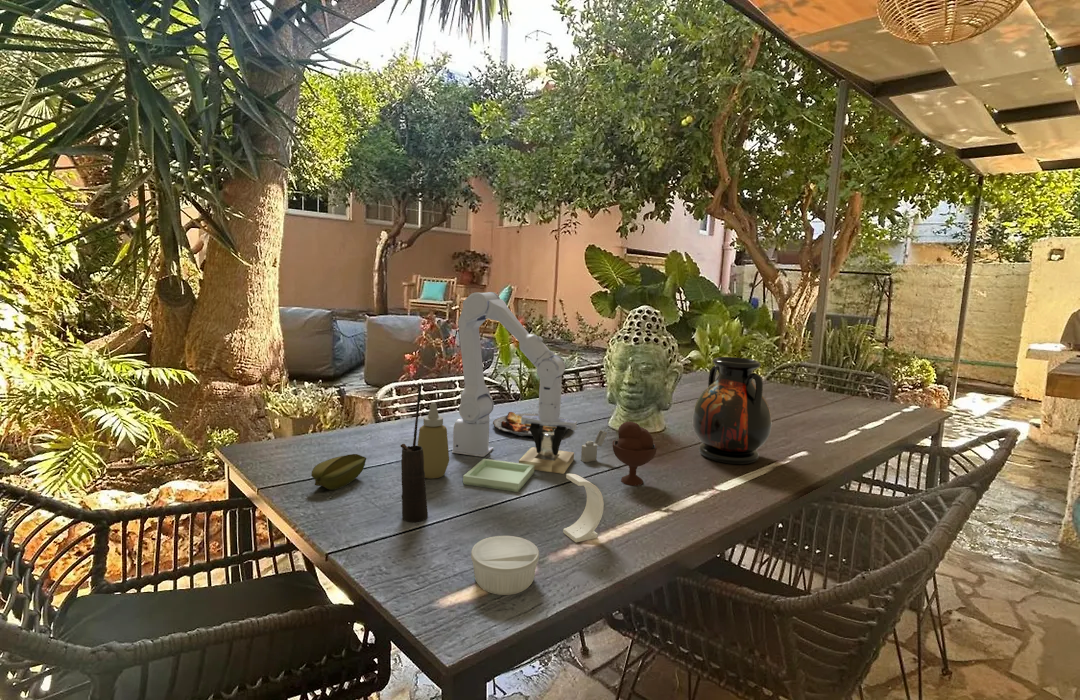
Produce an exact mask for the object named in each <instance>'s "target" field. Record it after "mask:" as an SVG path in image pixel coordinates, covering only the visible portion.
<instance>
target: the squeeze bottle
mask: <svg viewBox="0 0 1080 700" xmlns="http://www.w3.org/2000/svg"><path fill="white" fill-rule="evenodd" d="M417 446H421V447H422V448H423V455H424V472H425V479H431V480H432V479H439V478H441V477H444V476H445V475H446V472H447V468H448V465H449V463H450V452H449V441H448V429H447V427H446V426H445V425H444V417H443V416H440V415H439V411H438V406H437V403H436V402H431V403H430V407H429V411H428V415H427V416H424V417H423V425H422V426H420V427H419V430H418V438H417Z"/></svg>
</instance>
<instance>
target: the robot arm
mask: <svg viewBox="0 0 1080 700" xmlns="http://www.w3.org/2000/svg"><path fill="white" fill-rule="evenodd" d="M487 319H488V320H493V321H497V322H499V323H500V324H501V325H502V326H503V327H504V328H505V330H507V331H508V332H509V333H510V334H511V336H513V337H514V338H515V339H516V340H517V342H519V343H518V344H519V347H518V348H519V350H520V351H521V352H522V353H523V354H524V356H525V357H526V359H528V360H529V361H530V362H531V364H532V365H533V366H534V367H535V368H536V373H537V375H538V377H539V390H538V393H539V395H538V413H537V414H538V416H526V415H523V416H522V417H521V424H531V427H530V432H531V433H532V436H531V437H533V441H534V444H535V448H536V450H537V453H540V438H541V433H542V430H543V426H550V427H557V428H556V429H555V430H554V439H555V444H554V455H557V454H558V450H559V451H560V445H561V443H562V440H563V438H564V435H565V434H566V432H567V431H568V429H569V430H572V431H576V430H577V427H578V426H577V425H578V423H577V422H578V421H577V420H571V419H567V418H565V419H563V418H564V417H561V404H562V403H561V402H562V382H563V381H562V379H563V377H562V375H564V373H565V370H566V364H565V361H564V360H563V357H561V356H560V355H557V354H556V353H555V352H554V351H553V350H550V349H549V348H548V346H547V345H546V344H545V343H544V338H543V337H542V336H540V335H539V336H538V335H537V334H536V333H535V334H534V333H531V334H530V332H528V330H527V329H526V328H525V327H524V325H523V324H522V323H521V322H520V320H519V319H518V318H517V317H516V315H515V314H514V313H513V312H512V311H511V309H510V308H509V307H508V305H507V303H506V302H505V300H503V299H502V298H500V296H499V294H498V293H496V292H493V291H488V292H472V293H470V294H469V295H468V296H467V297H466V298H465V299H464V300H463V302H462V310H461V313H460V316H459V318H458V323H457V324H458V333H459V334H458V335H459V343H460V353H461V362H462V363H461V364H462V372H463V381H464V388H463V390H462V392H461V395H460V404H459V407H458V411H459V412H458V413H459V415H460V418H457V419H456V420H455V422H454V425H453V430H452V431H453V432H452V435H453V437H452V451H451V453H453V454H461V455H465V456H466V455H467V456H474V457H483V458H484V457H486V456H487V455H488V454H489V453H490V452H491V451H493V450H494V447H493V446H489V445H490V443H489V442H490V414H492V412H493V411H494V406H495V404H494V400H493V398H492V397H491V394H490V388H488V386H487V385H486V383H485V376H484V365H483V354H482V348H481V347H482V346H481V339H480V338H481V336H480V327H481V326H482V325H483V323H485V322H486V320H487ZM560 417H561V418H560ZM567 428H568V429H567Z"/></svg>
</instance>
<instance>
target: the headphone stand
mask: <svg viewBox="0 0 1080 700" xmlns="http://www.w3.org/2000/svg"><path fill="white" fill-rule="evenodd" d="M565 478H566V480H568V481H570V482H572V483H573V484H574V485H576V486H578V487H584V490H585V492H586V493H585V494H586V503H585V508H584V510H583V511H582V513H581V515H580V517H579V518H578V519H577V520H576V521H575V522H574V523H572V524H571V525H570V526H568V527H564V528H563V531H562V533H563V534H564V535H565V536H567V537H568V538H569V539H571V540H572V541H573V542H575V543H579V542H584V541H590V540H594V539H598V536H599V533H598V532H596V531H595V530H596V529H597V527H598V526H599V524H600V522H601V519H602V517H603V513H604V507H605V504H604V496H603V494H602V492H601V491H600V489H599V487H598V486H597V485H595V484H593V483H592V482H591V481H589V480H587V479H586V478H584V477H582V476H580V475H578V474H575V473H566V474H565Z"/></svg>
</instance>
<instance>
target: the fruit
mask: <svg viewBox="0 0 1080 700" xmlns="http://www.w3.org/2000/svg"><path fill="white" fill-rule="evenodd" d="M366 461H367V457H365V456H363V455H361V454H358V453H353V454H346V455H340V456H337V457H336V456H335V457H332V458H328V459H327V460H324V461H322V462H319V463H318V464H316V465H314V467H313V469H312V470H311V477H312V478H313V479H314V486H318V487H321V486H322V487H323V488H325V489H327V490H329V491H335V490H338V489H341V488H343V487H346V486H347V485H349V484H350V483H352V482H353V481H354V480H356V479H357V478H358V477H359V476H360V474H361V473H362V472H363V470H364V468H365V465H366Z"/></svg>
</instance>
